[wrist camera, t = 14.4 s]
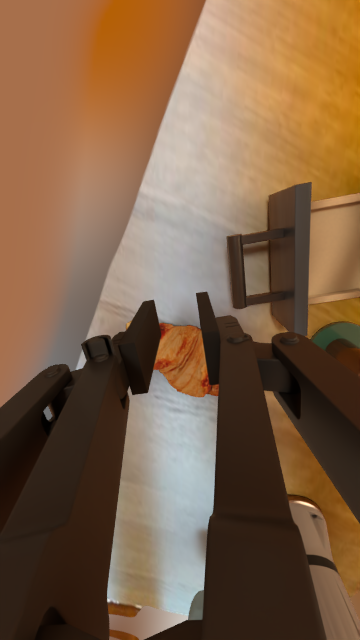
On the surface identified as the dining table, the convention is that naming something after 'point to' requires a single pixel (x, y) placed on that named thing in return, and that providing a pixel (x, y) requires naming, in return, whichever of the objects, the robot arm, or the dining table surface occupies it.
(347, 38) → the dining table surface
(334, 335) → the lid
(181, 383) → the croissant
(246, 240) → the drawer
